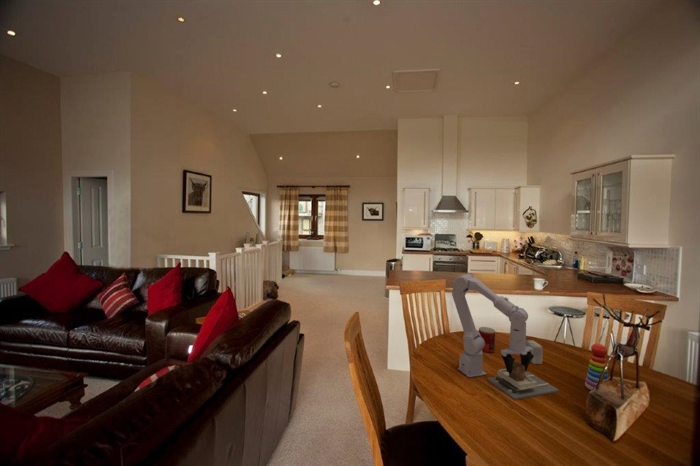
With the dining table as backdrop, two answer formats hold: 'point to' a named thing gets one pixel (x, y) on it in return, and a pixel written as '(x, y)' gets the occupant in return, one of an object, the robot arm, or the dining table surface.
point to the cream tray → (521, 384)
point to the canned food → (488, 339)
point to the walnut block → (517, 372)
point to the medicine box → (535, 351)
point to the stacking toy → (596, 366)
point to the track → (524, 393)
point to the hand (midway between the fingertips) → (516, 370)
